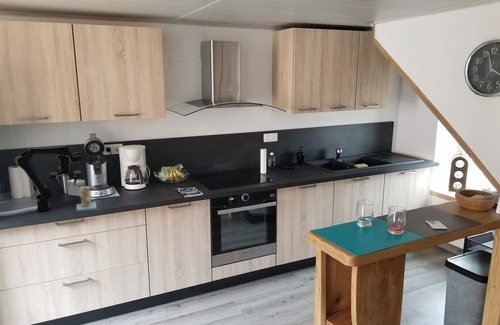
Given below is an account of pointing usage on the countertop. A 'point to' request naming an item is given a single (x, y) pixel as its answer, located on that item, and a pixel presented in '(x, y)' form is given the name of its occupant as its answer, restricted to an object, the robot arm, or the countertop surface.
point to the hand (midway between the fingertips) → (67, 186)
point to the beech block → (85, 196)
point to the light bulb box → (75, 187)
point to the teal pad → (92, 206)
